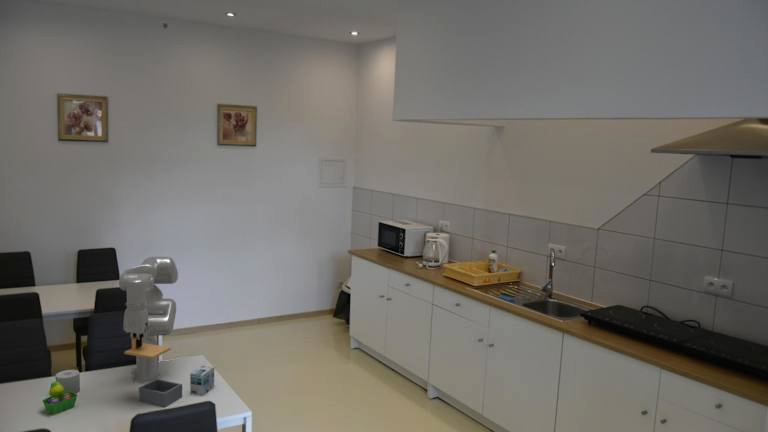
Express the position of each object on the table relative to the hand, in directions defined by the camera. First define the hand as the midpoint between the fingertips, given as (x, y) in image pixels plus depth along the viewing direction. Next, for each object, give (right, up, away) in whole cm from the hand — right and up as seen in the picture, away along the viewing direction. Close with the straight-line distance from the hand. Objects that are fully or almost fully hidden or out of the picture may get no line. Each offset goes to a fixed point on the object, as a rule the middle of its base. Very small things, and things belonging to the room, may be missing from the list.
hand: (137, 346), depth 253 cm
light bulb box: (+25, -24, +12) cm, 37 cm away
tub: (+10, -24, +2) cm, 26 cm away
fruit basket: (-29, -24, -9) cm, 39 cm away
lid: (+5, -3, -1) cm, 6 cm away
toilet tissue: (-34, -22, +8) cm, 41 cm away
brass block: (+13, -23, +2) cm, 27 cm away
